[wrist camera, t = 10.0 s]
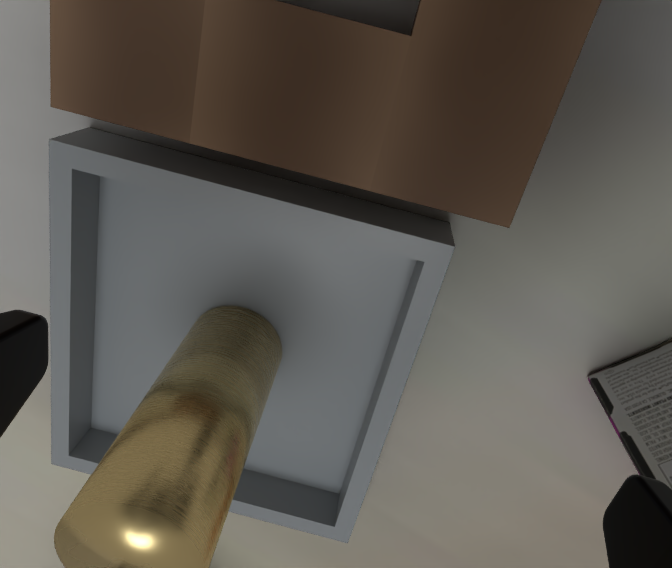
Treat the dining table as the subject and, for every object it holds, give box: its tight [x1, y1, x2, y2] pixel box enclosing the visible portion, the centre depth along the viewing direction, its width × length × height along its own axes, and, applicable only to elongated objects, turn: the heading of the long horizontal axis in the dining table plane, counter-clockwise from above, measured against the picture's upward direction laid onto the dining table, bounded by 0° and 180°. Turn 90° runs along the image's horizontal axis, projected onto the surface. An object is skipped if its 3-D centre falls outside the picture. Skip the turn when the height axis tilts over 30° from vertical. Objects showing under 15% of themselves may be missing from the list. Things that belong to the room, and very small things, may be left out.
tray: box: [49, 128, 455, 543], centre depth 22 cm, size 14×15×2 cm
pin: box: [54, 306, 282, 568], centre depth 18 cm, size 4×4×10 cm
